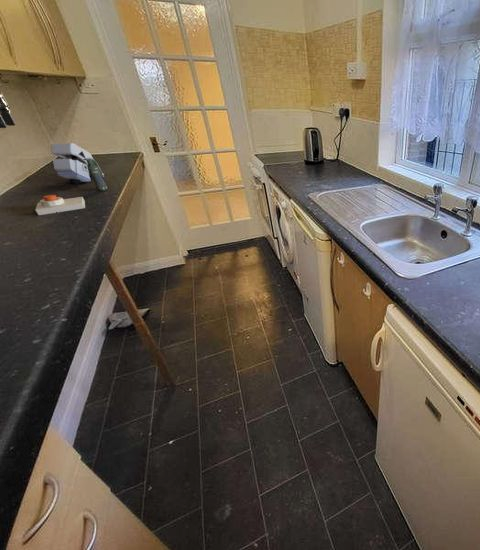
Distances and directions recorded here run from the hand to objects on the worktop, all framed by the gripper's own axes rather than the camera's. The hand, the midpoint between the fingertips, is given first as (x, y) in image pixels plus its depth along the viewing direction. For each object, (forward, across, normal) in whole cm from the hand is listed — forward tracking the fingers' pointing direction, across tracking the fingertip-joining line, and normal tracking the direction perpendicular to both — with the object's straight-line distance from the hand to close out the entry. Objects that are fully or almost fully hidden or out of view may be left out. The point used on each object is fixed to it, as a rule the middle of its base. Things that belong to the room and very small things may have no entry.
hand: (7, 126), depth 97 cm
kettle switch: (+27, -11, -2) cm, 30 cm away
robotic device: (+31, -61, 0) cm, 69 cm away
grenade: (+31, -35, +11) cm, 48 cm away
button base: (+31, -11, 0) cm, 33 cm away
